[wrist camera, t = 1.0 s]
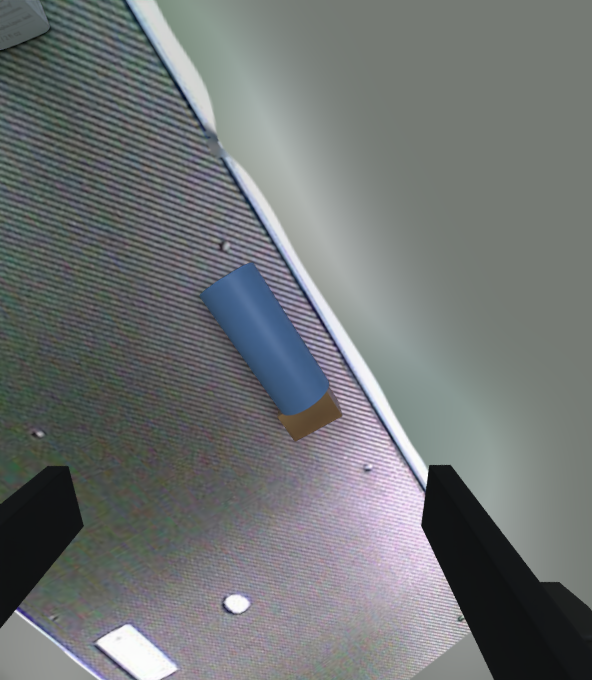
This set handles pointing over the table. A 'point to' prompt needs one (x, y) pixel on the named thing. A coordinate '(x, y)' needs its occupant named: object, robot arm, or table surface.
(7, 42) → the cosmetic box
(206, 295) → the tube
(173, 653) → the table surface
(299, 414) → the brown rectangular block
